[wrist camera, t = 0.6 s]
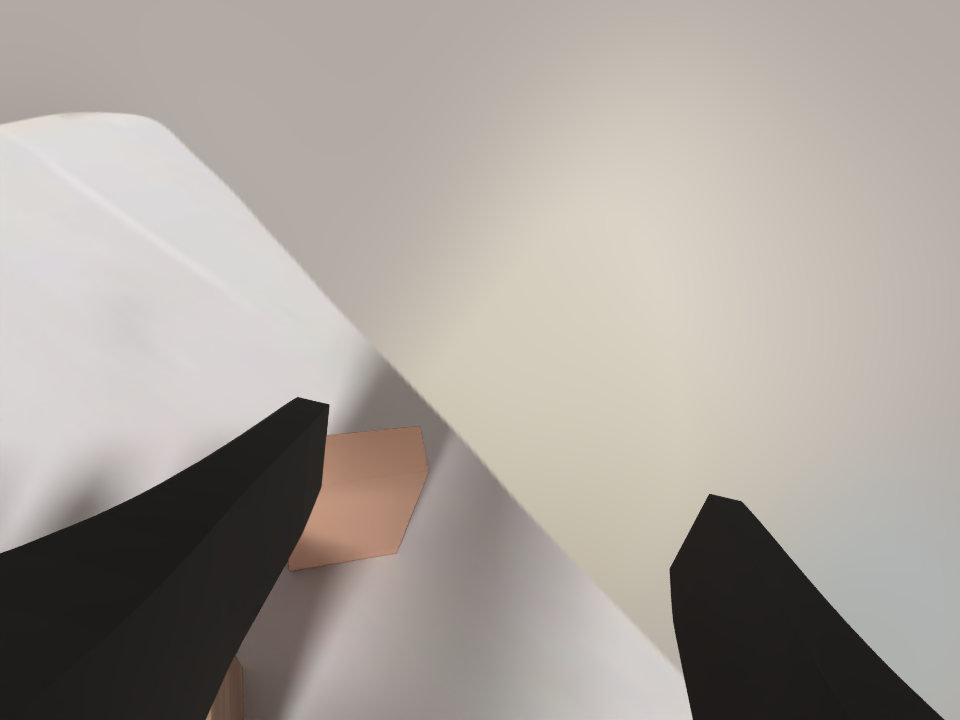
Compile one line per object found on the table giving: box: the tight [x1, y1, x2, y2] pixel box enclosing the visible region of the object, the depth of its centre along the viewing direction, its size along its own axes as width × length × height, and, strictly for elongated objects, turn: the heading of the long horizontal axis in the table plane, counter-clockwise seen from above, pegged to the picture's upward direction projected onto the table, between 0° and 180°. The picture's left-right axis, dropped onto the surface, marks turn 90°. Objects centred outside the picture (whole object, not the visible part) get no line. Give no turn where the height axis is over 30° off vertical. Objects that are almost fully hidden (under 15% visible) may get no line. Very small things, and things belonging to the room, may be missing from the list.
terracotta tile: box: [288, 426, 429, 571], centre depth 25 cm, size 2×5×10 cm, turn 103°
